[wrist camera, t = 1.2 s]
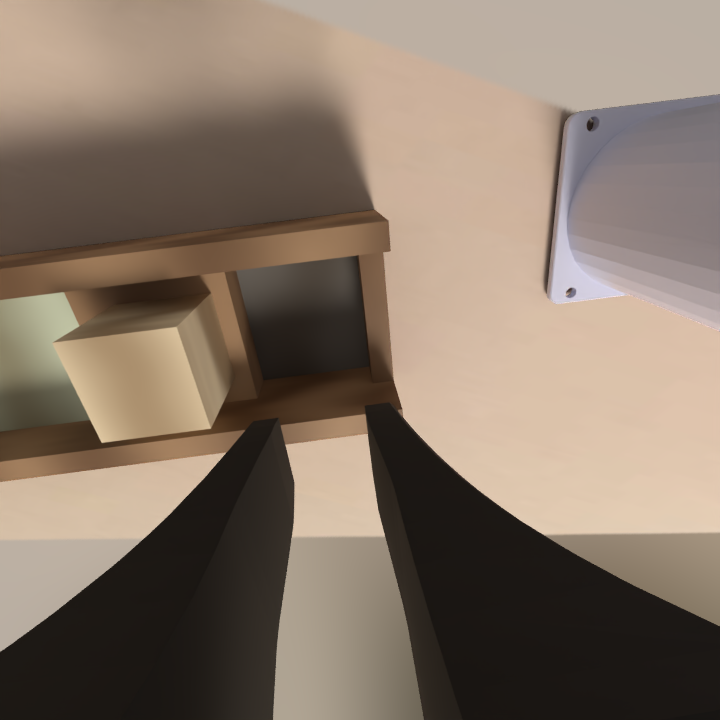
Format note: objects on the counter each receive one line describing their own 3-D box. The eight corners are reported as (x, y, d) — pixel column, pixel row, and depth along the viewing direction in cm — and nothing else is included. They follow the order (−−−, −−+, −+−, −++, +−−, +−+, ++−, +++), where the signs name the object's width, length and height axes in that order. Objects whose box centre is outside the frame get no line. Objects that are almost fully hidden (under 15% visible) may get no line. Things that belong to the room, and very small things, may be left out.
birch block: (211, 292, 16) (176, 327, 12) (235, 377, 18) (210, 428, 14) (114, 305, 16) (51, 342, 12) (148, 388, 18) (101, 442, 14)
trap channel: (374, 209, 17) (388, 220, 13) (389, 379, 21) (403, 429, 17) (-226, 284, 17) (-404, 319, 13) (-102, 442, 20) (-210, 509, 16)
